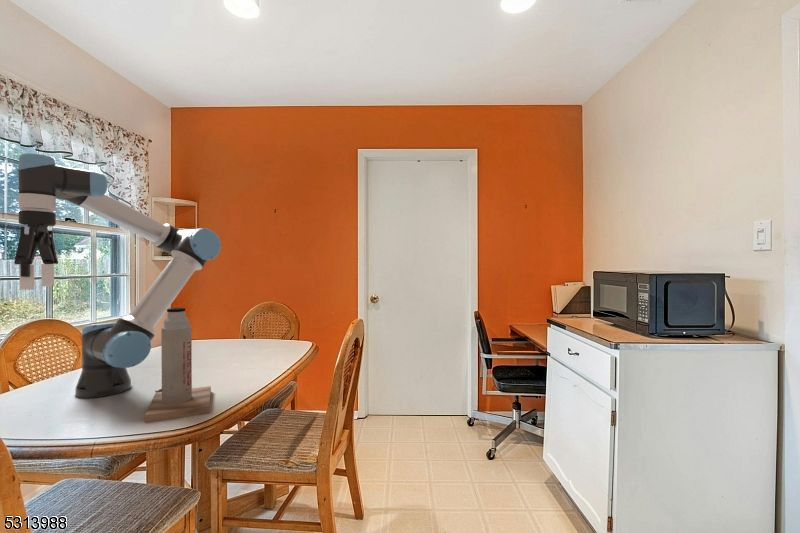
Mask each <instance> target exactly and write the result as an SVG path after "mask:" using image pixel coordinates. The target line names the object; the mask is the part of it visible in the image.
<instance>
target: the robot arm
mask: <svg viewBox="0 0 800 533" xmlns="http://www.w3.org/2000/svg"><path fill="white" fill-rule="evenodd" d="M17 165H18V166H17V167H18V168H17V172H18V177H17V178H18V197H17V198H16V201H17V202H18V208H19V211H18V224H19V225H23V226H20V233H19V234H20V235H19V239H18V243H17V249H16V253H15V258H14V261H13V262H14V265H19V267H18V268H19V269H18V270H19V290H21V291H22V290H23V291H24V290H25V291H26V290H27V291H29V290H31V291H32V290H35V264H33V263H34V259H35V257H36V254H37V251H38V252H39V256H40V258H41V260H42V263H41V266H40V269H41V270H40V274H41V276H40V278H41V279H40V280H41V281H40V282H41V284H40V285H41V287H55V265H58V264H59V260H58V257H57V251H56V247H55V245H56V244H55V241H54V231H53V230H52V229H51V230H50V229H48V227H55V226H56V224H57V219H56V218H57V214H56V213H55V212H56V210H57V205H56V204H57V203H56V202H57V200H62V201H68V202H69V203H72V204H73V205H76V206H77V207H80V208H81V209H84V210H86V211H88V212H91V213H93V214H94V215H97V216H98V217H101V218H103V219H105V220H107V221H109V222H111V223H113V224H115V225H117V226H119V227H121V228H123V229H125V230H128V231H129V232H131V233H133V234H134V235H135V234H136V235H137V236H139V237H142V239H143V238H144V239H145V240H148V241H149V242H151V244H152V247H153V246H154V247H155V248H157V249H159V250H162V251H163V252H165V253H167V254H169V255H171V257H172V258H170V260H169V262H168V263H167V264H166V265H165V267H164V268H163V270H161V272H160V273H159V274H158V276H157V277H156V279H155V280H154V281H153V282H152V284H151V285H150V286H149V288H148V289H147V290H146V292H145V293H144V294H143V295H142V297H141V298H140V300H139V301H138V302H137V303H136V305H135V306H134V307H133V308H132V310H131V311H130V313H128V315H126V316H123V317H119V318H118V320H117V321H115V322H103V323H97V324H96V323H94V324H88V325H85V326H83V327H82V331H81V335H80V337H81V373H80V375H79V378H78V379H77V380H78V381H77V383H76V386H75V390H74V391H75V392H74V396H76V397H77V398H82V399H83V398H84V399H85V398H86V399H91V398H101V397H107V396H111V395H112V396H113V395H115V394H121V393H123V392H125V391H128V390H129V389H131V387H132V379H131V377H130V374H129V372H128V369H127V368H132V367H136V366H137V365H139V364H141V363H143V362H144V361H145V360H146V358H147V357H148V356H149V355H150V352H151V349H152V346H151V344H152V343H151V342H152V340H153V338H154V337H155V335H156V332H155V327H156V326H157V325H158V323H159V322H160V320H161V319H162V317H163V316H164V315H165V313H166V312H167V309H170V308H169V307H171V305H172V303H173V302H174V301H175V299H176V298H177V297H178V295H179V294H180V292H181V291H182V290H183V289H184V287H185V286H186V284H187V282H189V280H190V278H191V277H192V276H193V274H194V273H195V272H196V271H200V270H202V269H203V268H204V267H205V265H206V263H207V262H208V261H211V260H214V259H215V258H217V257H218V256H219V254H220V253H221V250H222V248H221V247H222V245H221V244H222V243H221V240H220V238H219V236H218V234H217V233H216V232H215V231H213V230H212V229H210V228H203V227H197V228H187V229H186V228H184V229H183V228H178V227H175V226H173V225H171V224H169V223H164V224H163V223H161V222H160V221H157V220H156V219H154V218H152V217H150V216H148V215H146V214H145V213H143V212H141V211H140V210H139V211H138V210H137V209H135V208H133V207H131V206H129V205H128V204H126V203H124V202H122V201H120V200H118V199H116V198H115V197H113V196H111V195H108V194H107V190H108V179H107V177H106V175H105V174H104V173H103V172H97V171H94V170H88V169H81V168H76V167H75V168H74V167H70V166H69V167H68V166H62V165H59V164H57V162H56V159H55V157H53V156H52V155H51V156H50V155H46V154H44V153H43V154H42V153H38V152H37V153H35V152H24V153H22V154H20V155H19V156H18V164H17ZM20 209H21V210H20Z"/></svg>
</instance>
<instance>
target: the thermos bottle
mask: <svg viewBox="0 0 800 533" xmlns="http://www.w3.org/2000/svg"><path fill="white" fill-rule="evenodd" d="M166 312H167V318H165V319H164V320H163V326H162V327H161V334H160V336H161V338H160V339H161V346H160V347H161V389H162V403H165V404H176V403H181V402H185V401H188V400H190V399H191V398H192V388H193V384H192V381H193V378H192V377H193V376H192V368H193V367H192V365H193V364H192V360H193V359H192V358H193V357H192V350H193V349H192V346H193V345H192V339H193V338H192V325H191V324H190V318H188V317H187V316H186V315H187V314H186V307H170V308H168V309H167V310H166Z"/></svg>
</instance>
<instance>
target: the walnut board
mask: <svg viewBox="0 0 800 533" xmlns="http://www.w3.org/2000/svg"><path fill="white" fill-rule="evenodd" d="M211 396H212V386H211V385H209V386H200V387H192V398H191V399H190V400H188V401H185V402H181V403H176V404H165V403H162V392H155V393H154V396H153V398H152V399H151V401H150V404H149V405H148V408H147V410H146V412H145V414H144V423H149V422H155V421H156V422H157V421H162V420H171V419H178V418H177V417H179V418H184V416H186V417H190V416H191V415H193V416H199V415H198V414H200V415H206V414H205V413H207V414H210V411H211V398H210V397H211Z"/></svg>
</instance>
